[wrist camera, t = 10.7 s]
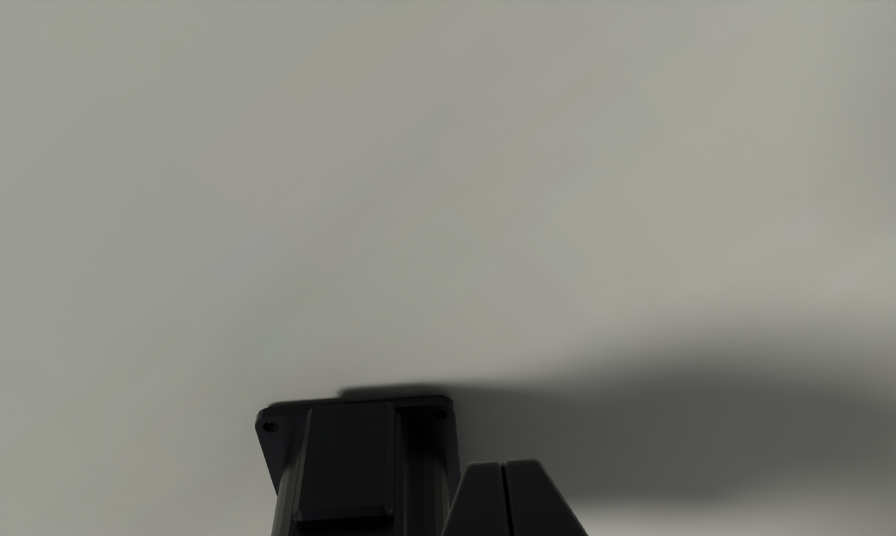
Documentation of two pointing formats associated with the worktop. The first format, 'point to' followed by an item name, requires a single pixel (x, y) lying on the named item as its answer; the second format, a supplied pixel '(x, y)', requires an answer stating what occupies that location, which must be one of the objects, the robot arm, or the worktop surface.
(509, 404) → the worktop surface
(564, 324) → the worktop surface
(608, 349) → the worktop surface
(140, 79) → the worktop surface
